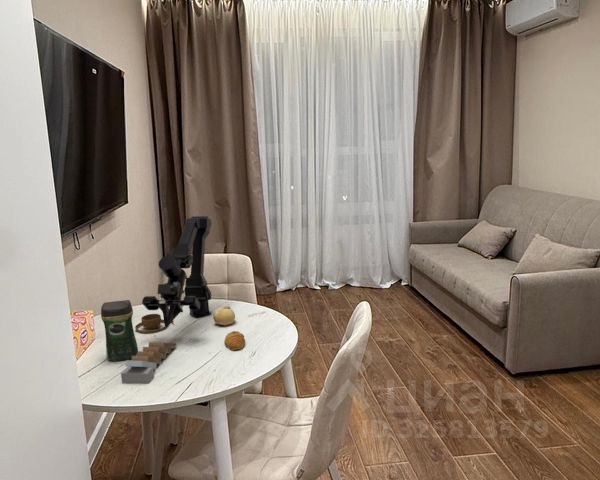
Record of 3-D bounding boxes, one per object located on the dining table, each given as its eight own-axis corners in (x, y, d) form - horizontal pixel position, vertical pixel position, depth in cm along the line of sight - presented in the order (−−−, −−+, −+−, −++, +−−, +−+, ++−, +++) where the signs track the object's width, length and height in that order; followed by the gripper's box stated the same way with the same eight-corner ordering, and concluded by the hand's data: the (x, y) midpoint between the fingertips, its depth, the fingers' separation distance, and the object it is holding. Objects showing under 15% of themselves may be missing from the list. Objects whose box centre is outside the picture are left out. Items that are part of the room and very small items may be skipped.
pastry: (247, 350, 173) (246, 339, 172) (226, 353, 172) (225, 342, 171) (243, 339, 182) (242, 329, 181) (223, 342, 181) (222, 331, 180)
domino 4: (156, 348, 174) (143, 346, 165) (171, 348, 173) (158, 347, 164) (156, 353, 174) (142, 352, 164) (170, 353, 173) (158, 352, 163)
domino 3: (151, 353, 170) (137, 351, 161) (166, 353, 170) (153, 351, 160) (150, 358, 170) (136, 356, 160) (165, 358, 169) (152, 357, 160)
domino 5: (161, 343, 178) (148, 342, 169) (176, 343, 177) (163, 342, 168) (161, 347, 178) (148, 347, 168) (175, 348, 177) (163, 347, 168)
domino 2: (146, 358, 167) (131, 355, 157) (161, 358, 166) (147, 356, 156) (145, 363, 166) (131, 361, 157) (160, 364, 165) (147, 361, 156)
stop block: (128, 376, 158) (127, 367, 157) (154, 377, 157) (152, 367, 156) (122, 382, 154) (120, 373, 153) (148, 383, 153) (147, 373, 152)
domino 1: (141, 363, 163) (125, 360, 153) (156, 363, 162) (142, 360, 153) (140, 368, 162) (125, 366, 153) (155, 368, 162) (141, 366, 152)
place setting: (131, 339, 188) (129, 324, 187) (119, 323, 205) (117, 309, 204) (179, 328, 196) (178, 313, 195) (164, 314, 213) (163, 300, 212)
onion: (220, 329, 192) (219, 310, 191) (209, 324, 198) (208, 305, 197) (239, 323, 197) (238, 305, 195) (228, 318, 203) (226, 300, 202)
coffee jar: (139, 349, 177) (133, 296, 174) (136, 359, 170) (130, 303, 166) (109, 353, 176) (102, 299, 172) (105, 363, 168) (97, 307, 164)
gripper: (140, 273, 179) (129, 316, 171) (194, 272, 176) (185, 316, 168) (153, 288, 188) (143, 330, 180) (203, 288, 186) (196, 330, 177)
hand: (166, 326), depth 176 cm, fingers closed
